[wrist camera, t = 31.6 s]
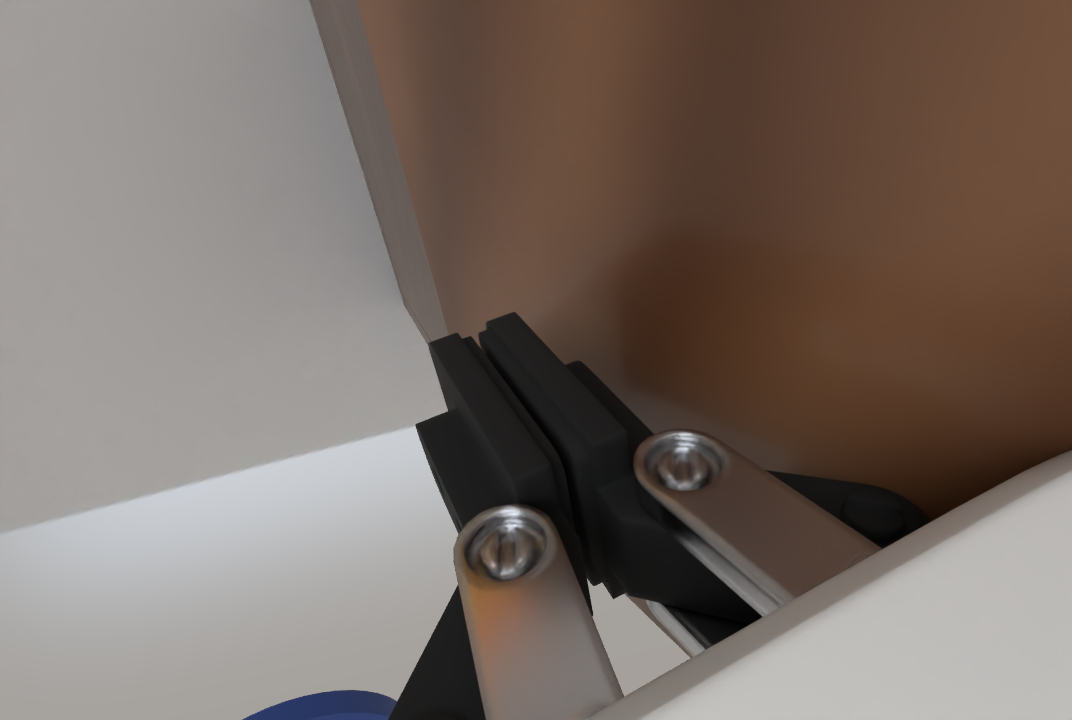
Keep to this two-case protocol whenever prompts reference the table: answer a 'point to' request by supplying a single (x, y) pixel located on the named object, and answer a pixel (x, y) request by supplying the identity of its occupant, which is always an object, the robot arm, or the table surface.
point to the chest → (379, 158)
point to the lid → (762, 216)
